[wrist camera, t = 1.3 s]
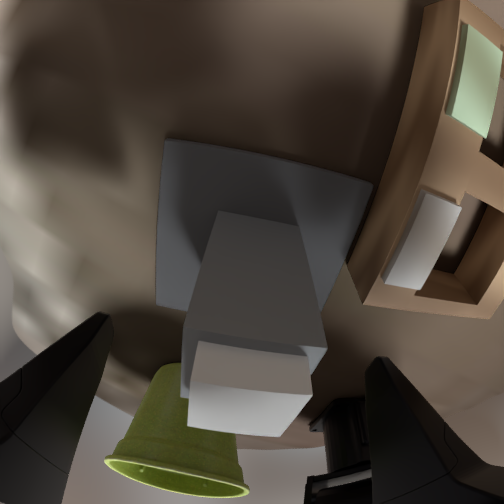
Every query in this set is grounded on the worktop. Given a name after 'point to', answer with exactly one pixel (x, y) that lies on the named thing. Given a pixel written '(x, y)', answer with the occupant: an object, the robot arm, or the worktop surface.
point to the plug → (251, 329)
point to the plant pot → (177, 446)
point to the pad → (249, 210)
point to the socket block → (439, 176)
